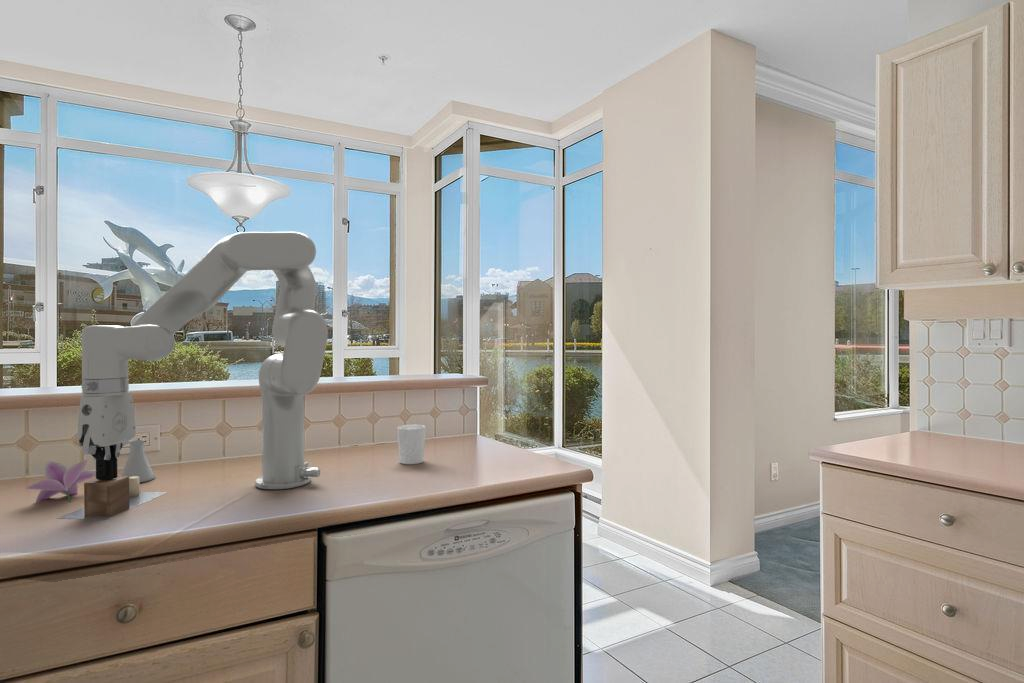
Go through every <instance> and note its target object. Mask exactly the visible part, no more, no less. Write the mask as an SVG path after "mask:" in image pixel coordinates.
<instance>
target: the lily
mask: <svg viewBox="0 0 1024 683" xmlns="http://www.w3.org/2000/svg"><path fill="white" fill-rule="evenodd" d="M87 462H88V460H86V459H85V460H82V461H80V462H77V463H75V464H74V465H73V466H70V467H67V466H66V465H64V464H62V463H59V462H55V461H47V462H46V463H45V464H44V465H45V466H44V477H45V479H42V480H39V481H36V482H34V483H32V484H30V485H28V486H26V487H25V489H26V490H34V491H35V490H37V491H38V490H39V493H38V494H37V497H36V499H35V503H38V502H41V501H44V500H47V499H50V498H51V497H54V496H55V495H58V494H62V495H66V496H67V500H68V502H69V503H72V501H71V497H70V496H71V495H72V496H73V495H77V494H78V489H79V488H78V485H79V484H81V483H83V482H86V481H87V480H88V481H89V480H90V479H92V478H96V470H87V469H86V470H84V468H85V466H86V465H87Z"/></svg>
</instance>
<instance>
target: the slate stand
mask: <svg viewBox="0 0 1024 683" xmlns="http://www.w3.org/2000/svg"><path fill="white" fill-rule="evenodd" d="M140 490H141V489H140V483H139V476H132V477H129V509H127V510H125V511H122V512H120V513H118V514H116V515H113V516H111V517H92V516H84V507H82V508H79V509H77V510H74V511H72V512H69V513H67V514H64V515H62V516H59V517H56V519H57V520H58V519H60V520H64V519H65V520H100V521H101V520H103V521H104V520H105V521H106V520H109V519H111V518H113V517H115V516H118V515H120V514H123V513H124V512H128V511H129V510H131V509H134V508H136V507H138V506H140V505H143V504H146V503H148V502H150V501H152V500H154V499H157V498H158V497H161V496H164V495H166V494H168V493H169V492H167V491H164V492H163V491H162V492H161V491H140Z"/></svg>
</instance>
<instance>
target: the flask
mask: <svg viewBox="0 0 1024 683" xmlns="http://www.w3.org/2000/svg"><path fill="white" fill-rule="evenodd" d="M145 442H146V439H141V438H138V439H131V440H129V442H128V444H129V445H130V446H129V453H128V458H127V460H126V462H125V465H124V467H123V470H122V472H121V475H120V476H129V477H132V476H139V484H140V483H145V482H149V481H151V480H154V479H155V478H156V475H155V473H154V471H153V468H152V467H151V465H150V463H149V460H148V458H147V456H146V452H145V446H144V444H145Z"/></svg>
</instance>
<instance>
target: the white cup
mask: <svg viewBox="0 0 1024 683" xmlns="http://www.w3.org/2000/svg"><path fill="white" fill-rule="evenodd" d="M425 443H426V425H424V424H403V425H402V424H401V425H399V426H397V447H398V449H397V450H398V453H399V454H398V459H399V460H398V462H399V463H400V464H403V465H417V464H421V463H423V462H424V454H425V453H424V452H425V445H426V444H425Z"/></svg>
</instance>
